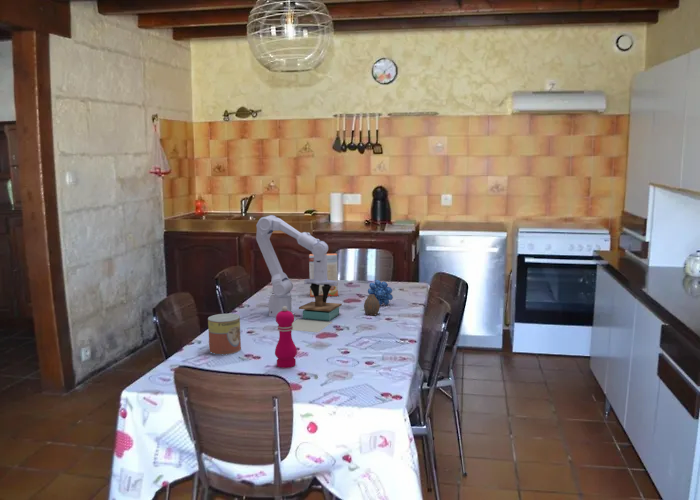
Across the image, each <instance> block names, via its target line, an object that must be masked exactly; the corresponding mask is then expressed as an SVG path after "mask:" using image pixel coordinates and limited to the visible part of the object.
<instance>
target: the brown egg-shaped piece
mask: <svg viewBox="0 0 700 500" xmlns="http://www.w3.org/2000/svg"><path fill="white" fill-rule="evenodd" d="M368 294H369V293H368ZM380 307H381V305H380V304H379V301H378V300H377V298H376V297H375V295H374V294H369V295H368V296H367V298H366V299H365V300H364V302H363V311H364V312H365V314H366V315H367V316H376V315H377V314H378V313H379V312H380Z"/></svg>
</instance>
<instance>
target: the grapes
mask: <svg viewBox="0 0 700 500" xmlns="http://www.w3.org/2000/svg"><path fill="white" fill-rule="evenodd" d="M367 293H368V294H374V295H375V297H376V298H377V300H378V301H379V304H380V306H382V305H383V304H384V305H385V306H387V305H389V303H390V301H392V300H393V299H394V297H393V294H392V293H393V288H392V287H390V286H388V283H387V282H386V281H380V280H379V279H376V280H374V282H370V283H369V288H368V290H367Z"/></svg>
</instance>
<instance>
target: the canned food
mask: <svg viewBox="0 0 700 500" xmlns="http://www.w3.org/2000/svg"><path fill="white" fill-rule="evenodd" d="M240 319H241V316H240V315H239V314H237V313H218V314H214V315H210V316H208V318H207V326H208V328H207V329H208V344H209V347H208V348H209V349H208V351H209V350H210V352H212V353H215V354H214V355H216V354H220V355H219V356H222V354H223V356H225V355H226V354H227V355H233V354H236V353H238V352H241V350H242V345H241V343H242V341H241V320H240ZM210 352H209V353H210ZM212 353H211V354H212ZM227 355H226V356H227Z"/></svg>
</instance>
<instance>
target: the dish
mask: <svg viewBox="0 0 700 500" xmlns="http://www.w3.org/2000/svg"><path fill="white" fill-rule="evenodd" d="M339 315H340V307H338V308H336V309H334V310H332V311H330V312H329V311H317V310H305V309H302V319H303V320H315V321H327V322H331V321H332V320H333V319H334V318H336V317H337V316H339Z"/></svg>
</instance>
